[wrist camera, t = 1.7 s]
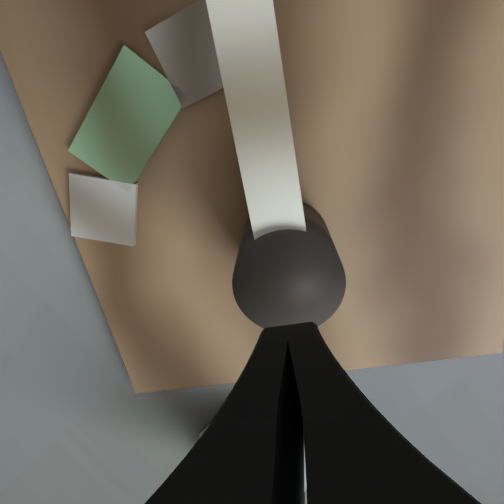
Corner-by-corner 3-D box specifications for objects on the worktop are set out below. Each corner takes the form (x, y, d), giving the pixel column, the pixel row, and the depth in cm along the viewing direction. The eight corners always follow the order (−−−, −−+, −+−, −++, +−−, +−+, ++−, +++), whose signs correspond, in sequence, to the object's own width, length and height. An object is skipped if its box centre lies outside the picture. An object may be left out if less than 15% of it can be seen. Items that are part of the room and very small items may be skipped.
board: (521, -145, 12) (547, -170, 11) (491, 341, 20) (505, 356, 19) (-6, -3, 15) (-30, -12, 14) (141, 381, 22) (134, 397, 21)
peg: (333, 273, 18) (352, 329, 13) (251, 285, 18) (243, 342, 14) (288, -97, 12) (295, -200, 8) (174, -66, 13) (125, -148, 9)
